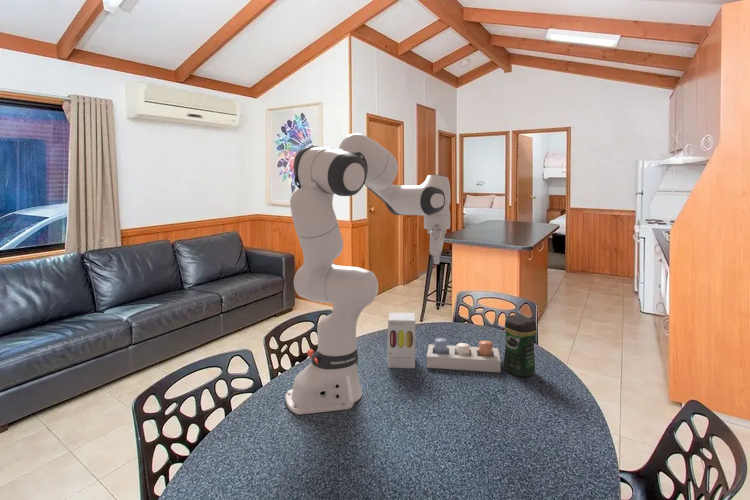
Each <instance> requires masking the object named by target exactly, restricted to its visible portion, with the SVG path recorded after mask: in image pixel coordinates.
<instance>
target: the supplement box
mask: <svg viewBox="0 0 750 500" xmlns="http://www.w3.org/2000/svg"><path fill="white" fill-rule="evenodd" d="M387 322H388V323H387V368H388V369H389V368H391V369H394V368H395V369H415V368H416V314H415V312H389V313H388V320H387Z"/></svg>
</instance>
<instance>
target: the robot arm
mask: <svg viewBox="0 0 750 500" xmlns="http://www.w3.org/2000/svg"><path fill="white" fill-rule="evenodd" d="M338 146H339V147H338V149H335V148H332V147H324V146H323V147H321V146H317V145H311V146H307V147H306V146H305V147H303V148H302V149H300V150H298V152H297V153H296V155H295V157H294V159H293V160H294V161H293V175H294V180H293V181H294V184H295V185H296V187H297V188H298V189H296V190H295V191H294V192H293V193H292V195H291V196H290V200H289V203H290V205H289V206H290V211H291V218H292V223H293V226H294V229H295V232H296V235H297V238H298V240H299V245H300V247H301V251H302V254H303V264H302V265H301V266H300V267H299V268H298V269H297V270H296V272H295V275H294V277H293V288H294V291H295V293H296V294H297V295H298V296H299V297H301V298H304V299H306V300H308V301H311V302H317V303H323V304H324V303H326V304H332V312H331V313H330V314H328V315H326V316H324V317H322V319H320V321H319V322H318V325H317V327H316V328H317V330H316V331H317V349H316V350H315V351H314V349H312V348H309V349H307V351H306V354H307V355H308V357H309V358H310V359H311V363H309V365H307V366H306V367H305V368H304V369H302V370H301V371H300V372H299V373H298V374H297V375H296V376H295V378H294V380H293V386H292V389H288V391H286V393H285V398H284V399H285V404H286V405H287V408H288V409H289V410H290V411H291V412H292V413H294V414H295V415H307V414H317V413H327V412H335V411H343V410H344V411H345V410H350V409H352V408H353V406H354V405H355V403H356V402H357V401H359V400H360V399H361V398H362V396H363V389H362V387H361V383H360V379H359V378H360V377H359V372H358V366H359V352H358V347H357V324H358V321H359V317H360V315H361V313H362V312H363V311H364V309H365V308H367V307H368V306H370V305H371V304H372V303H373V302H374V301H375V299H376V298H377V294H379V293H378V292H379V282H378V278H377V276H376V275H375V273H374V272H373V271H371V270H368V269H365V268H363V267H359V266H348V265H338V264H335V263H334V261H335V260H336V259H337V258H338V257H339V256H340V255H341V254H342V252H343V249H344V241H343V235H342V233H341V229H340V227H339V222H338V218H337V216H336V213H335V210H334V206H333V201H334V200H333V198H334V195H337V196H339V197H352V196H355V195H357V194H358V193H359V192H360V191H361V189H362V188H363V187H364V185H365V187H366V188H367V189H368V190H369V191H370V192H371V193H372V194H373V195H375V196H377V198H379V199H380V200H381V201H382V202H383V203H384V204H385V206H386V208H387V210H389V212H390V213H391V214H392V215H394V216H422V217H423V229H425V230H427V234H428V235H429V255H431V256H433V264H434V265H440V260H441V259H440V257H441V255H442V251H443V247H444V242H445V235H446V234H447V230H449V229H451V211H450V205H451V184H450V180H449V177H447V176H446V175H443V174H428V175H427V176H426V178H425V181H424V182H423V183H420V184H419V185H402V184H393V183H394V181H395V180H396V177H397V174H398V169H399V165H398V161H397V159H396V157H395V156H394V154H393V153H391V151H390V150H388V149H387V148H386V147H384V146H382V144H380V143H378V142H377V141H376V140H374V139H373V138H370V137H368V136H367V135H364V134H361V133H359V132H358V133H357V132H356V133H354V132H353V133H351V134H348V135H347V136H345V137H344V138H343V140H342V141H341V143H340V145H338Z"/></svg>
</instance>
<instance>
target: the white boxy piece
mask: <svg viewBox="0 0 750 500" xmlns="http://www.w3.org/2000/svg"><path fill="white" fill-rule="evenodd" d="M456 350H457V345H451V344H449V345H448V344H447V353H445V354H438V353H435V351H434V344H432V343H431V344H428V348H427V353H426V368H427V369H443V370H459V371H460V370H461V371H474V372H486V373H487V372H489V373H501V362H502V361H501V357H500V351H499V348H498V347H492V356H489V357H485V356H481V355H479V346H470V355H469V356H465V355H456Z"/></svg>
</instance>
